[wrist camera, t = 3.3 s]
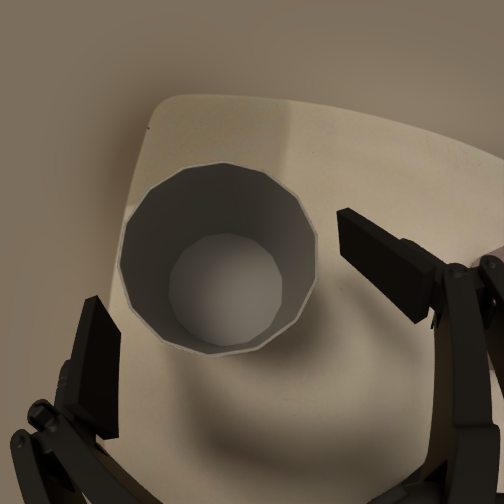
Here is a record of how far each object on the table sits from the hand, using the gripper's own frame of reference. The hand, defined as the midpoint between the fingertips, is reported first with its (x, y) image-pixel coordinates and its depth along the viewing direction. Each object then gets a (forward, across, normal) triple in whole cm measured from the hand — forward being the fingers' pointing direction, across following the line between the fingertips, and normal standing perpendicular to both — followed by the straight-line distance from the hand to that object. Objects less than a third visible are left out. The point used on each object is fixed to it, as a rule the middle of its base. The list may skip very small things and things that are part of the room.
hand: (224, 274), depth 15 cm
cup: (+5, 0, -5) cm, 7 cm away
